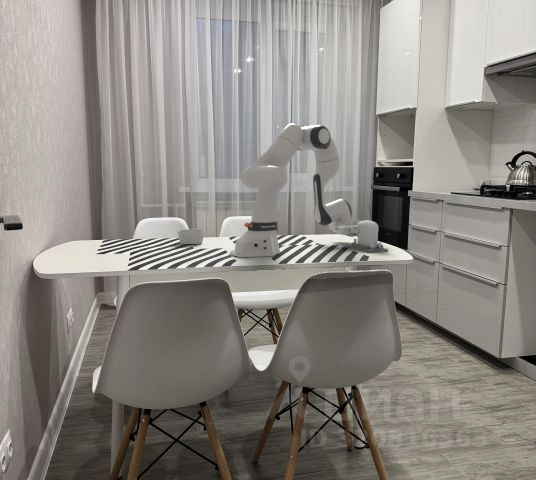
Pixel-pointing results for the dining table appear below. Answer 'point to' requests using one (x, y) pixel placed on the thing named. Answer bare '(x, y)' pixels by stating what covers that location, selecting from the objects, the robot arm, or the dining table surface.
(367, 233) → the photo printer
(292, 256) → the dining table surface
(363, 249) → the dock
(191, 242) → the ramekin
